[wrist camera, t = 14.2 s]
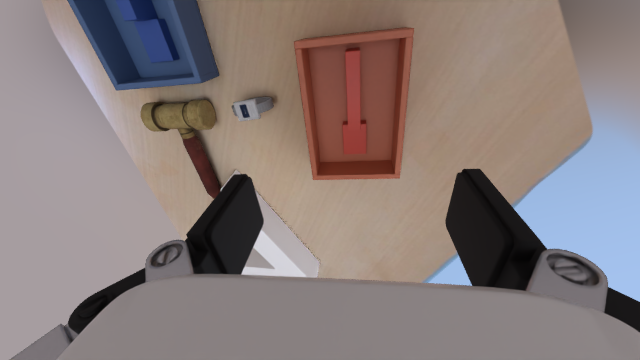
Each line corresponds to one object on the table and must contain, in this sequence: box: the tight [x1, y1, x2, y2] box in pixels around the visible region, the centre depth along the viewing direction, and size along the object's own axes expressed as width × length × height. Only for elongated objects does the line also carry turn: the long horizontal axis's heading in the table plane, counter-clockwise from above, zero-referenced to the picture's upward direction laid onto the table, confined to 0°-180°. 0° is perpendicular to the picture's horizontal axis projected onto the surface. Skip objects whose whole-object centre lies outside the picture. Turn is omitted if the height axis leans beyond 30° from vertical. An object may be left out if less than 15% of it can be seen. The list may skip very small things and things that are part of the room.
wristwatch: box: [232, 97, 274, 121], centre depth 36 cm, size 6×3×5 cm, turn 100°
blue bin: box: [67, 0, 219, 90], centre depth 30 cm, size 20×14×5 cm
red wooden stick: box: [342, 47, 367, 154], centre depth 34 cm, size 15×4×4 cm, turn 6°
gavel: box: [141, 100, 220, 199], centre depth 43 cm, size 21×5×10 cm
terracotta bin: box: [294, 27, 414, 180], centre depth 35 cm, size 20×14×5 cm
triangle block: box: [220, 169, 320, 278], centre depth 53 cm, size 30×26×6 cm
